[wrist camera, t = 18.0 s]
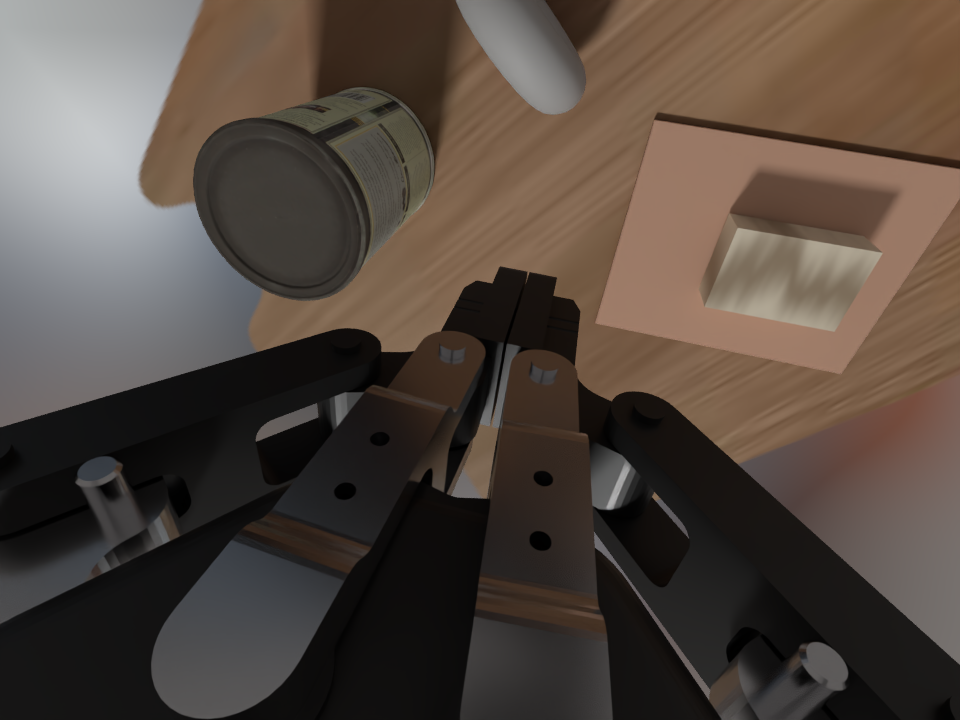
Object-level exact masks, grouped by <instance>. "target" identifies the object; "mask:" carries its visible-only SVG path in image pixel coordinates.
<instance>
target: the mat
mask: <svg viewBox="0 0 960 720" xmlns="http://www.w3.org/2000/svg"><path fill="white" fill-rule="evenodd" d="M959 199H960V168H954V167H948V166H941V165H935V164H929V163H923V162H917V161H910V160H904V159H898V158H892V157H886V156H879V155H873V154H867V153H861V152H855V151H848V150H842V149H836V148H830V147H824V146H817V145H811V144H805V143H799V142H793V141H786V140H780V139H774V138H768V137H762V136H755V135H749V134H743V133H737V132H731V131H725V130H718V129H712V128H706V127H700V126H694V125H687V124H681V123H675V122H669V121H663V120H656V119H654V121H653V125H652V128H651V132H650V135H649V139H648V142H647V145H646V149H645V152H644V156H643V159H642V163H641V166H640V170H639V173H638V176H637V180H636V183H635V187H634V190H633V194H632V197H631V200H630V204H629V207H628V211H627V214H626V218H625V221H624V225H623V228H622V231H621V235H620V238H619V242H618V245H617V249H616V252H615V255H614V259H613V262H612V266H611V269H610V273H609V276H608V280H607V283H606V286H605V290H604V293H603V297H602V300H601V304H600V307H599V311H598V314H597V317H596V321H595V323H596V324H601V325H606V326H611V327H616V328H621V329H625V330H630V331H635V332H640V333H645V334H650V335H654V336H659V337H664V338H669V339H674V340H679V341H683V342H688V343H693V344H698V345H703V346H708V347H712V348H717V349H722V350H727V351H732V352H737V353H741V354H746V355H751V356H756V357H761V358H766V359H770V360H775V361H780V362H785V363H790V364H795V365H799V366H804V367H809V368H814V369H819V370H824V371H828V372H833V373H838V374H841V373H842V372H843V371H844V369H845V368H846V366H847V365H848V363H849V362H850V360H851V359H852V357H853V356H854V354H855V353H856V351H857V350H858V348H859V347H860V345H861V344H862V342H863V341H864V339H865V338H866V336H867V335H868V334H869V332H870V331H871V329H872V328H873V326H874V325H875V323H876V322H877V320H878V319H879V317H880V316H881V314H882V313H883V311H884V310H885V308H886V307H887V305H888V304H889V302H890V301H891V300H892V298H893V297H894V295H895V294H896V292H897V291H898V289H899V288H900V286H901V285H902V283H903V282H904V280H905V279H906V277H907V276H908V274H909V273H910V271H911V270H912V268H913V267H914V265H915V264H916V263H917V261H918V260H919V258H920V257H921V255H922V254H923V252H924V251H925V249H926V248H927V246H928V245H929V243H930V242H931V240H932V239H933V237H934V236H935V234H936V233H937V231H938V230H939V228H940V227H941V226H942V224H943V223H944V221H945V220H946V218H947V217H948V215H949V214H950V212H951V211H952V209H953V208H954V206H955V205H956V203H957V202H958V200H959ZM729 213H731V214H737V215H743V216H749V217H754V218H760V219H766V220H772V221H778V222H784V223H790V224H796V225H801V226H807V227H813V228H819V229H825V230H831V231H837V232H843V233H848V234H854V235H860V236H864V237H866V238H867V239H868V240H869V241H870V242H871V243H872V244H873V245H875V246H876V247H877V248H878V249H879V250H880V251H881V252H882V253H883V254H882V255H881V257H880V259H879V260H878V262H877V263H876V265H875V267H874V268H873V270H872V272H871V273H870V275H869V276H868V278H867V280H866V281H865V283H864V285H863V286H862V288H861V289H860V291H859V293H858V294H857V296H856V298H855V299H854V301H853V302H852V304H851V306H850V307H849V309H848V311H847V312H846V314H845V315H844V317H843V319H842V320H841V322H840V324H839V325H838V327H837V328H836V330H835V332H833V331H828V330H822V329H817V328H812V327H807V326H802V325H796V324H791V323H786V322H781V321H775V320H770V319H765V318H760V317H755V316H749V315H744V314H739V313H734V312H728V311H723V310H718V309H713V308H707V307H704V304H703V301H702V298H701V294H700V291H699V287H700V284H701V282H702V279H703V277H704V274H705V272H706V269H707V267H708V264H709V262H710V259H711V257H712V255H713V252H714V250H715V247H716V245H717V242H718V240H719V237H720V235H721V232H722V230H723V227H724V225H725V222H726V220H727V217H728V215H729Z"/></svg>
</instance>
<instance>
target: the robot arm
mask: <svg viewBox="0 0 960 720" xmlns="http://www.w3.org/2000/svg"><path fill="white" fill-rule="evenodd" d="M526 279H527V272H526V271H521V270H516V269H511V268H506V267H501V266H500V268H499V270H498V272H497V274H496V277H495V279H494V281H493V283H487V282H482V281H475V282H473V283H472V284H470V285H468V286H466V287H465V288H464V289H463V291H462V293H461V295H460V297H459V300H457V302H456V304H455V306H454V308H453V310H452V312H451V313H450V315H449V317H448V319H447V321H446V323H445V325H444V326H443V328H442V330H441V332H436V333H433V334H431V335H428V336H427V337H425V338H424V339H423V340H422V342H421V343H420V344H419V346H418V347H417V348H416V350H415V351H412V352H381V343H380V341H379V340H378V339H377V337H375V336H374V335H373V334H371V333H369V332H366V331H363V330H359V329H351V328H344V329H336V330H332V331H328V332H325V333H321V334H318V335H314V336H311V337H307V338H304V339H301V340H297V341H294V342H290V343H287V344H284V345H280V346H277V347H273V348H270V349H267V350H263V351H260V352H256V353H253V354H249V355H246V356H243V357H239V358H236V359H232V360H229V361H226V362H223V363H219V364H215V365H212V366H209V367H205V368H202V369H199V370H195V371H192V372H188V373H185V374H181V375H178V376H174V377H171V378H168V379H164V380H161V381H158V382H154V383H151V384H147V385H144V386H140V387H137V388H134V389H130V390H127V391H123V392H120V393H117V394H113V395H110V396H106V397H103V398H99V399H96V400H93V401H89V402H86V403H82V404H79V405H76V406H72V407H69V408H66V409H62V410H58V411H55V412H52V413H48V414H45V415H41V416H38V417H35V418H31V419H28V420H24V421H21V422H18V423H14V424H11V425H7V426H4V427H0V720H960V665H959V664H958V663H957V662H956V661H955V660H954V659H952V658H951V657H950V656H949V655H948V654H947V653H946V652H945V651H944V650H943V649H941V648H940V647H939V646H938V645H937V644H936V643H935V642H934V641H933V640H931V639H930V638H929V637H928V636H927V635H926V634H925V633H924V632H923V631H921V630H920V629H919V628H918V627H917V626H916V625H915V624H914V623H913V622H911V621H910V620H909V619H908V618H907V617H906V616H905V615H904V614H903V613H902V612H900V611H899V610H898V609H897V608H896V607H895V606H894V605H893V604H892V603H890V602H889V601H888V600H887V599H886V598H885V597H884V596H883V595H882V594H880V593H879V592H878V591H877V590H876V589H875V588H874V587H873V586H872V585H871V584H869V583H868V582H867V581H866V580H865V579H864V578H863V577H862V576H860V575H859V574H858V573H857V572H856V571H855V570H854V569H853V568H852V567H850V566H849V565H848V564H847V563H846V562H845V561H844V560H843V559H841V557H840V556H838V555H837V554H836V553H835V552H834V551H833V550H832V549H831V548H830V547H828V546H827V545H826V544H825V543H824V542H823V541H822V540H821V539H819V538H818V537H817V536H816V535H815V534H814V533H813V532H812V531H811V530H810V529H808V528H807V527H806V526H805V525H804V524H803V523H802V522H801V521H800V520H798V519H797V518H796V517H795V516H794V515H793V514H792V513H791V512H790V511H789V510H787V509H786V508H785V507H784V506H783V505H782V504H781V503H780V502H778V501H777V500H776V499H775V498H774V497H773V496H772V495H771V494H770V493H769V492H768V491H766V490H765V489H764V488H763V487H762V486H761V485H760V484H759V483H757V482H756V481H755V480H754V479H753V478H752V477H751V476H750V475H749V474H748V473H746V472H745V471H744V470H743V469H742V468H741V467H740V466H739V465H738V464H737V463H735V462H734V461H733V460H732V459H731V458H730V457H729V456H728V455H727V454H725V453H724V452H723V451H722V450H721V449H720V448H719V447H718V446H717V445H715V444H714V443H713V442H712V441H711V440H710V439H709V438H708V437H707V436H706V435H704V434H703V433H702V432H701V431H700V430H699V429H698V428H697V427H696V426H694V425H693V424H692V423H691V422H690V421H689V420H688V419H687V418H686V417H684V416H683V415H682V414H681V413H680V412H679V411H678V410H677V409H676V408H674V407H673V406H672V405H671V404H670V403H668V402H666V401H665V400H663V399H661V398H659V397H657V396H654V395H651V394H648V393H643V392H635V391H634V392H624V393H621V394H619V395H617V396H616V397H615V398H614V399H613V401H609V400H607V399H605V398H603V397H600V396H598V395H596V394H595V393H593V392H591V391H590V390H588V389H587V388H586V387H585V386H583V384H582V383H581V382H580V381H579V380H578V376H577V370H576V368H575V357H576V348H577V338H578V329H579V319H580V310H579V308H578V307H577V305H576V304H575V302H574V300H571V299H566V298H561V297H556V296H553V295H554V290H555V285H556V280H557V277H552V276H547V275H542V274H537V273H532V272H530V273H529V276H528V279H527V282H526ZM315 403H317V406H318V416H319V417H318V418H316V419H313V420H311V421H308V422H306V423H303V424H300V425H298V426H295V427H293V428H290V429H288V430H285V431H283V432H280V433H278V434H275V435H272V436H270V437H267V438H265V439H262V440H260V441H257V442H256V440H255V439H256V435H257V432H258V431H259V429H260V428H261V427H262V426H263V425H264V424H266V423H267V422H269V421H270V420H273V419H275V418H278V417H281V416H283V415H286V414H289V413H291V412H294V411H297V410H299V409H302V408H305V407H307V406H310V405H313V404H315ZM496 403H497V404H496ZM495 406H496V410H495ZM494 410H495V416H494V421H493V427H496V428H499V430H498V435H497V441H496V446H495V452H494V457H493V463H492V470H491V476H490V482H489V489H488V495H487V499H480V498H457V497H453V496H451V495H452V493H453V490H454V488H455V486H456V483H457V481H458V479H459V476H460V474H461V472H462V470H463V467H464V465H465V463H466V461H467V458H468V456H469V454H470V451H471V448H472V443H473V438H474V437H475V435H476V433H477V430H478V427H479V424H482V425H487V426H490V423H491V420H492V417H493V413H494ZM654 492H655V493H656V494H657V495H658V496H659V497H660V498H661V499H662V500H663V502H664V503H665V504H666V505H667V506H668V507H669V508H670V509H671V510H672V512H674V514H675V515H676V516H677V517H678V518H679V519H680V521H681V522H682V523H683V525H684V526H685V528H686V530H687V532H688V536H689V539H688V537H687V536H686V535H685V534H684V533H683V532H682V531H681V530H680V528H679V527H678V526H677V525H676V524H675V523H674V522H673V521H672V519H671V518H670V517H669V516H668V515H667V514H666V512H665V511H664V510H663V509H662V508H661V507H660V506H659V505H658V503H657V502H656V501H655V500H654V499H653V498H652V496H653V494H654ZM594 532H595V533H596V535H597V536H598V537H599V539H600V540H601V541H602V543H603V544H604V545H605V547H606V548H607V549H608V551H609V552H610V554H611V555H612V556H613V558H614V559H615V561H616V562H617V563H618V565H619V566H620V567H621V569H622V570H623V571H624V573H625V574H626V575H627V577H628V578H629V580H630V581H631V582H632V584H633V585H634V586H635V588H636V589H637V591H638V592H639V593H640V595H641V596H642V597H643V599H644V600H645V601H646V603H647V604H648V605H649V607H650V608H651V610H652V611H653V612H654V614H655V615H656V617H657V618H658V619H659V621H660V622H661V623H662V625H663V626H664V627H665V629H666V630H667V632H668V633H669V634H670V636H671V637H672V638H673V639H674V641H675V642H676V644H677V645H678V646H679V648H680V649H681V651H682V652H683V653H684V655H685V656H686V657H687V659H688V660H689V661H690V663H691V664H692V666H693V667H694V668H695V670H696V671H697V672H698V674H699V675H700V677H701V678H702V679H703V681H704V682H705V683H706V685H707V686H708V687H709V689H710V694H709V700H708V698H707V697H706V695H705V694H704V692H703V691H702V690H701V688H700V687H699V685H698V684H697V682H696V681H695V679H694V678H693V677H692V675H691V673H690V672H689V670H688V669H687V668H686V666H685V665H684V663H683V662H682V660H681V659H680V658H679V656H678V655H677V653H676V651H675V650H674V649H673V647H672V646H671V644H670V643H669V641H668V640H667V639H666V637H665V636H664V634H663V632H662V631H661V630H660V628H659V627H658V625H657V624H656V622H655V621H654V619H653V618H652V616H651V615H650V614H649V612H648V611H647V609H646V608H645V606H644V605H643V603H642V602H641V600H640V599H639V597H638V596H637V594H636V593H635V592H634V590H633V589H632V587H631V586H630V584H629V583H628V582H627V580H626V579H625V577H624V576H623V575H622V573H621V572H620V571H619V570H618V569H617V568H616V567H615V565H614V564H613V563H612V562H611V561H610V560H608V558H606V557H605V556H604V555H603V554H602V553H601V552H600V551H598V550H597V549H596V548H595V544H594Z"/></svg>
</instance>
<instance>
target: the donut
mask: <svg viewBox="0 0 960 720" xmlns="http://www.w3.org/2000/svg"><path fill="white" fill-rule="evenodd" d="M456 3H457V5H458V7H459V9H460V11H461V13H462V15H463V18H464V19H465V21H466V23H467V24H468V26H469V28H470V29H471V31H472V33H473V34H474V36H475V37H476V39H477V40H478V42H479V43H480V45H481V46H482V48H483V49H484V51H485V52H486V54H487V55H488V57H489V58H490V59H491V60H492V62H493V63H494V64H495V66H496V67H497V68H498V70H499V71H500V72H501V74H502V75H503V76H504V77H505V79H506V80H507V81H508V82H509V83H510V84H511V86H512V87H513V88H514V89H515V90H516V91H517V93H518V94H519V95H520V96H521V97H522V98H523V99H524V100H525V101H526V102H528V103H529V104H530V105H531V106H533V107H534V108H535V109H537V110H539V111H541V112H542V113H544V114H553V115H554V114H560V113H564V112H567V111H569V110H570V109H572V108H573V107H574V106H575V105H576V104H577V103H578V102H579V101H580V99H581V97H582V95H583V93H584V91H585V85H586V75H585V69H584V66H583V64H582V61H581V59H580V57H579V55H578V53H577V51H576V49H575V48H574V46H573V44H572V43H571V41H570V39H569V37H568V36H567V34H566V33H565V31H564V29H563V28H562V26H561V24H560V23H559V21H558V20H557V18H556V17H555V15H554V14H553V12H552V11H551V9H550V7H549V6H548V4H547V3H546V2H545V0H456Z"/></svg>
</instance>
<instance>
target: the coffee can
mask: <svg viewBox="0 0 960 720" xmlns="http://www.w3.org/2000/svg"><path fill="white" fill-rule="evenodd" d="M433 178H434V156H433V151H432V147H431V143H430V141H429V138H428V136H427V133H426V131H425V129H424V127H423V125H422V124H421V123H420V121H419V119H418V118H417V117H416V115H415V114H414V113H413V112H412V111H411V109H410V108H408V107H407V106H406V105H405V104H404V103H403V102H402V101H400V100H399V99H397V98H396V97H394V96H392V95H391V94H389V93H386V92H385V91H382V90H378V89H374V88H368V87H355V88H350V89H346V90H343V91H340V92H339V93H337V94H334V95H330V96H327V97H324V98H321V99H318V100H314V101H311V102H308V103H304V104H301V105H298V106H295V107H291V108H288V109H285V110H281V111H278V112H275V113H272V114H269V115H265V116H262V117H259V118H248V119H243V120H237V121H234V122H231V123H228V124H226V125H224V126H222V127H221V128H219V129H218V130H216V131H215V132H214V133H213V134H212V135H211V136H210V137H209V138H208V139H207V140H206V142H205V143H204V144H203V146H202V148H201V149H200V151H199V153H198V156H197V159H196V162H195V167H194V177H193V187H194V196H195V202H196V206H197V210H198V214H199V217H200V219H201V221H202V224H203V226H204V228H205V230H206V232H207V234H208V236H209V237H210V239H211V241H212V243H213V244H214V245H215V247H216V248H217V249H218V251H219V252H220V254H221V255H222V256H223V257H224V258H225V259H226V261H227V262H228V263H229V264H230V265H231V266H232V267H233V268H234V269H235V270H236V271H237V272H238V273H240V274H241V275H242V276H244V278H246V279H247V280H249V281H250V282H252V283H253V284H255V285H256V286H258V287H260V288H262V289H264V290H265V291H267V292H269V293H272V294H275V295H277V296H280V297H284V298H288V299H293V300H300V301H311V300H319V299H323V298H326V297H330V296H332V295H334V294H336V293H338V292H339V291H341V290H342V289H344V288H345V287H346V286H347V285H348V284H349V283H350V282H351V281H352V280H353V279H354V278H355V276H356V275H357V274H358V272H359V271H360V269H361V267H362V266H363V265H364V264H365V263H366V262H367V261H368V260H369V259H370V258H371V257H372V256H373V255H374V254H375V253H376V252H377V251H378V250H379V249H380V248H381V247H382V246H383V245H384V244H385V243H386V241H387V240H388V239H389V238H390V237H391V236H392V235H393V234H394V233H395V232H396V231H397V230H398V229H399V228H400V227H401V226H402V225H403V223H404V222H405V221H406V220H407V219H408V218H409V217H410V216H411V215H413V214H414V213H415V212H416V211H417V210H418V209H419V208H420V207H421V206H422V205H423V203H424V202H425V200H426V198H427V197H428V195H429V192H430V190H431V187H432V184H433Z"/></svg>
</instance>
